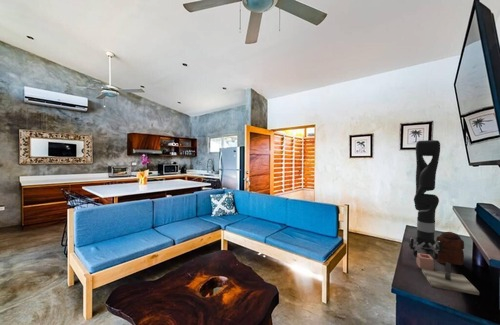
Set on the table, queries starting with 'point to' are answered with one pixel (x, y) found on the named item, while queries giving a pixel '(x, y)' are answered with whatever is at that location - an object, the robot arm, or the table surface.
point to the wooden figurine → (451, 248)
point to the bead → (425, 261)
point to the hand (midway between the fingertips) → (425, 257)
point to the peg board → (449, 280)
